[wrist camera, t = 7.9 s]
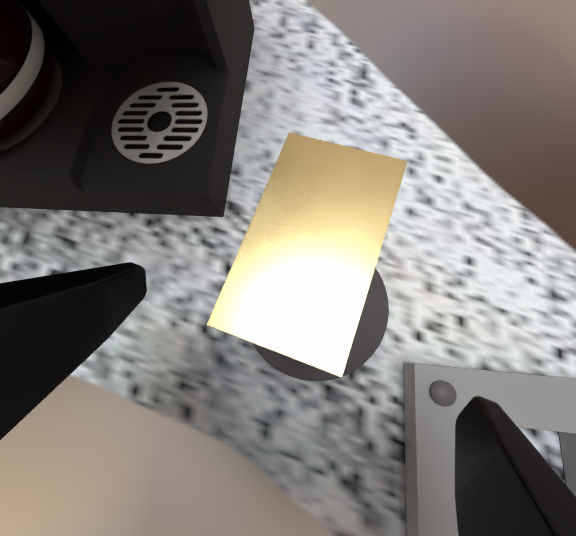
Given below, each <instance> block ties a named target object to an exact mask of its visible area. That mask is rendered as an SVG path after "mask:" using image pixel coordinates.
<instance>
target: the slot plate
mask: <svg viewBox="0 0 576 536" xmlns="http://www.w3.org/2000/svg"><path fill="white" fill-rule="evenodd" d="M474 396H482V397H485V398H487V399H490V400H492V401H495V402H496V403H498V404H499V405H500V406H501V408H502V409H503V410H504V411H505V412H506V414H507V415H508V416H509V417H510V418H511V420H512V421H513V422H514V423H515V424H516V426H517V427H522V428H531V429H540V430H549V431H557V432H559V438H560V445H561V452H562V459H563V466H564V473H565V480H566V485H567V486H568V488H569V489H570V490H571V491H572V492H573V494H574V495H575V496H576V379H574V378H563V377H553V376H542V375H531V374H521V373H510V372H500V371H489V370H478V369H468V368H457V367H447V366H436V365H425V364H415V363H404V417H405V483H406V536H458V527H457V516H456V506H455V484H454V478H455V423H456V419H457V416H458V415H459V413H460V412H461V411H462V410H463V408H464V407H465V406H466V405H467V404H468V402H469V401H470V400H471V399H472V398H473V397H474Z"/></svg>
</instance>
